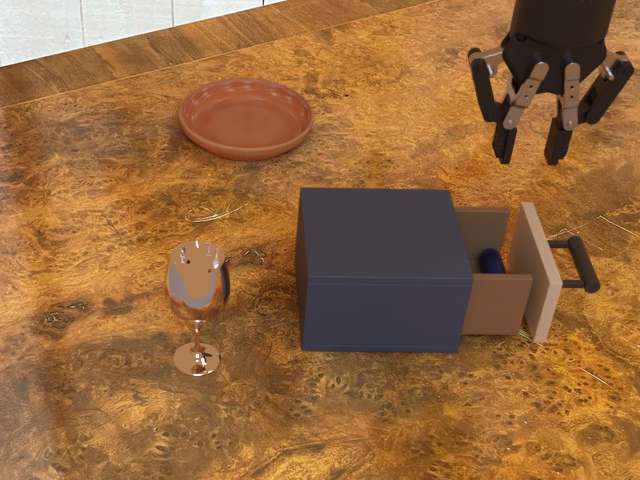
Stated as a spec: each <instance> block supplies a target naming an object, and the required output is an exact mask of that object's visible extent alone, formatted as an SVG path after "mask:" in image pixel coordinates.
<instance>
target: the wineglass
mask: <svg viewBox="0 0 640 480" xmlns="http://www.w3.org/2000/svg"><path fill="white" fill-rule="evenodd" d="M165 268H166V269H165V273H164V278H163V279H164V280H163V294H164V299H165V302H166V304H167V305H166V306H168V309H169V310H170V311H171V312H172V314H174V316H176V317H177V318H179V319H181V320H183V321H185V322H188V323H191V327H192V329H193V334H194V341H191V342H187V343H184V344H182V345H181V346H179V347H178V348H176V350H175V351H174V353H173V356H172V362H173V365H174V367H175V368H176V369H177V370H178V371H179V372H181V373H183V374H185V375H187V376H191V377H201V376H208V375H209V374H212V373H214V372H215V371H216V370H218V369H219V367H220V365H221V363H222V354H221V352H220V351H219V349H218V348H216V346H214V345H213V344H211V343H208V342H204V341H201V339H200V338H201V336H200V335H201V330H202V327H203V324H204V323H206V322H209V321H212V320H214V319H216V318H217V317H219V316H220V315H221V314H222V313H223V312H224V310H225V309H226V308H227V305H228V303H229V300H230V295H231V278H230V276H231V275H230V272H229V267H228V264H227V260H226V256H225V254H224V251H223V250H222V249H221V248H220V247H219V246H218V245H216V244H214V243H212V242H209V241H205V240H189V241H186V242H182V243H180V244H178V245H176V246H175V247H174V248H173V249H172V251H171V252H170V255H169V257H168V261H167V265H166V267H165Z"/></svg>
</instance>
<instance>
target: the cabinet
mask: <svg viewBox="0 0 640 480" xmlns="http://www.w3.org/2000/svg"><path fill="white" fill-rule="evenodd" d="M298 197H299V198H298V211H297V221H296V222H297V223H296V238H295V251H294V265H295V266H294V270H295V282H296V294H297V308H298V322H299V333H300V334H299V335H300V345H301V346H300V348H301V352H337V353H339V352H341V353H342V352H343V353H344V352H345V353H346V352H349V353H350V352H351V353H352V352H353V353H420V354H423V353H426V354H427V353H428V354H435V353H436V354H458V352H459V346H460V344H461V343H460V342H461V339H462V335H463V334H462V329H463V325H464V320H465V316H466V311H467V307H468V302H469V298H470V293H471V289H472V284H473V279H474V278H473V275H472V271H471V267H470V264H469V260H468V256H467V253H466V249H465V245H464V242H463V238H462V234H461V231H460V227H459V223H458V220H457V216H456V212H455V209H454V207H455V206H454V205H455V204H454V201H453V197H452V194H451V191H450V189H439V188H438V189H435V188H433V189H431V188H430V189H429V188H379V187H377V188H376V187H375V188H374V187H366V188H365V187H315V186H311V187H309V186H307V187H306V186H304V187H303V186H300V187H299V196H298Z"/></svg>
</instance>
